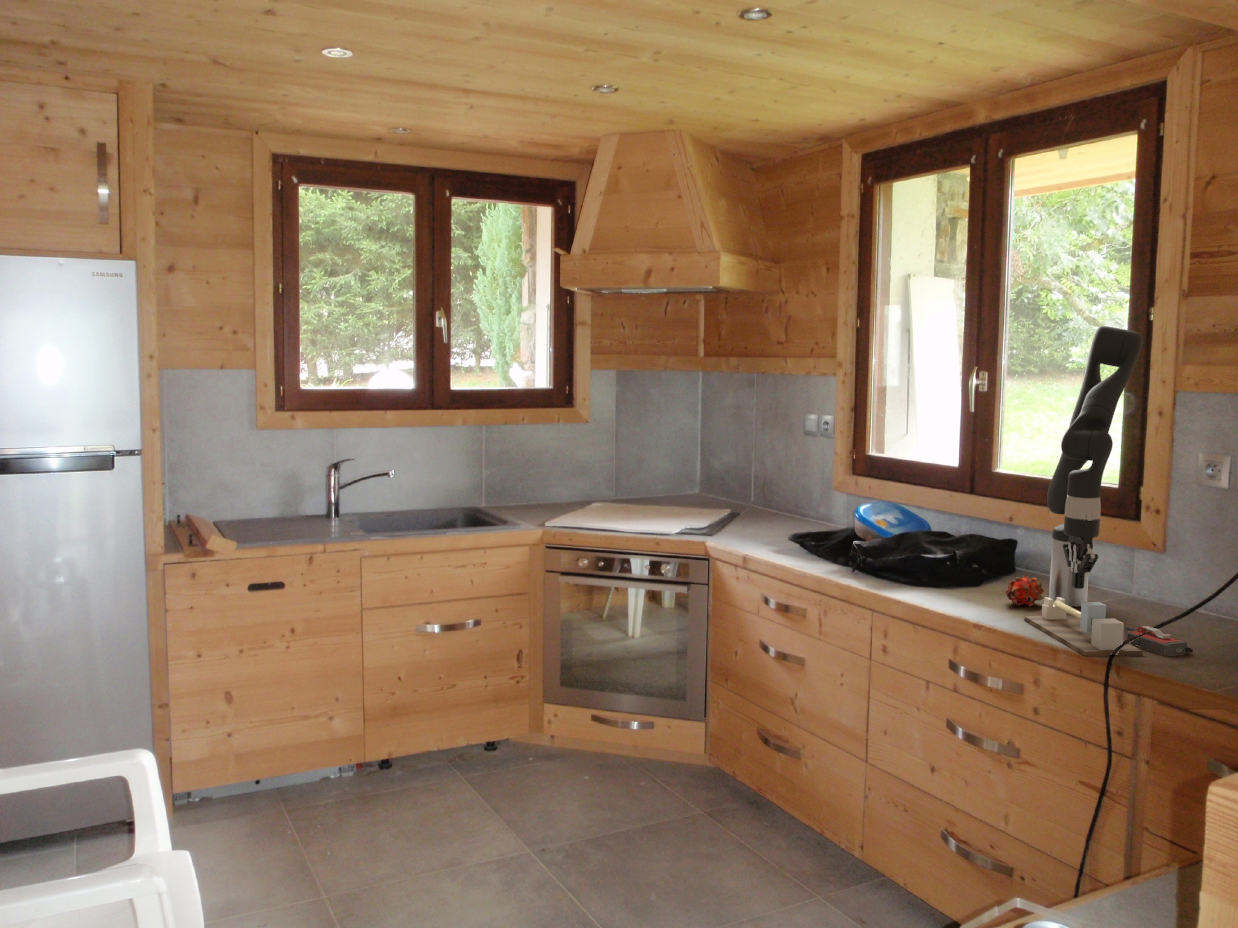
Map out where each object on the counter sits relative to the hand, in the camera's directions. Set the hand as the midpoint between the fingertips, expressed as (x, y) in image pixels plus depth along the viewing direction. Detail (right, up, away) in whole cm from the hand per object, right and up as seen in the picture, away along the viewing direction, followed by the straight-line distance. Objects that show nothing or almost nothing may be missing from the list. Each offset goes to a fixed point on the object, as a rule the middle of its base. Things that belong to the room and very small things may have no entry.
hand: (1077, 587), depth 233 cm
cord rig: (+1, -12, 0) cm, 12 cm away
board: (+1, -12, 0) cm, 12 cm away
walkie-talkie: (+14, -13, -5) cm, 20 cm away
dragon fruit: (0, -9, +30) cm, 31 cm away
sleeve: (+1, -9, -5) cm, 11 cm away
